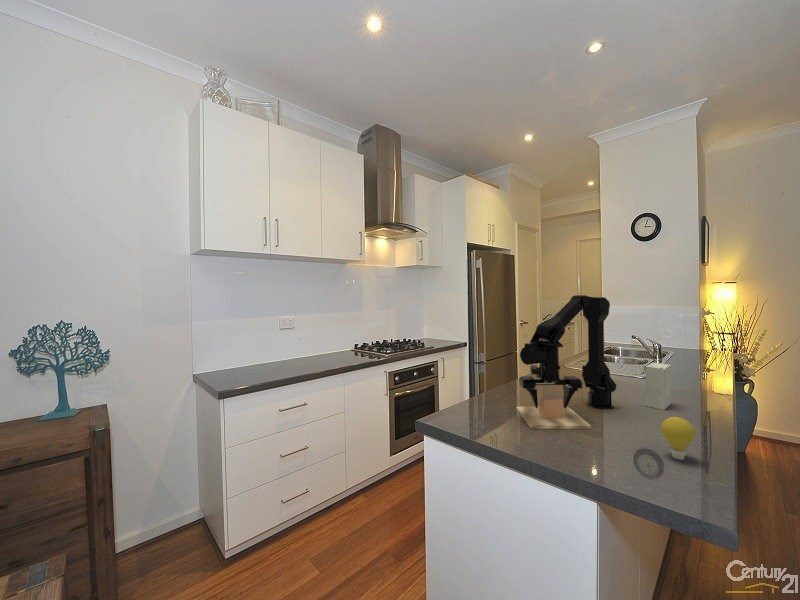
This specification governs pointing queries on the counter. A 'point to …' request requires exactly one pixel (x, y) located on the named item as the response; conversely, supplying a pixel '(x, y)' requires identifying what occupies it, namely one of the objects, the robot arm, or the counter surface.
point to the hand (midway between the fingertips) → (550, 407)
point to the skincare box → (658, 385)
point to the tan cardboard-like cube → (550, 406)
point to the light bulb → (678, 435)
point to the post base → (538, 422)
